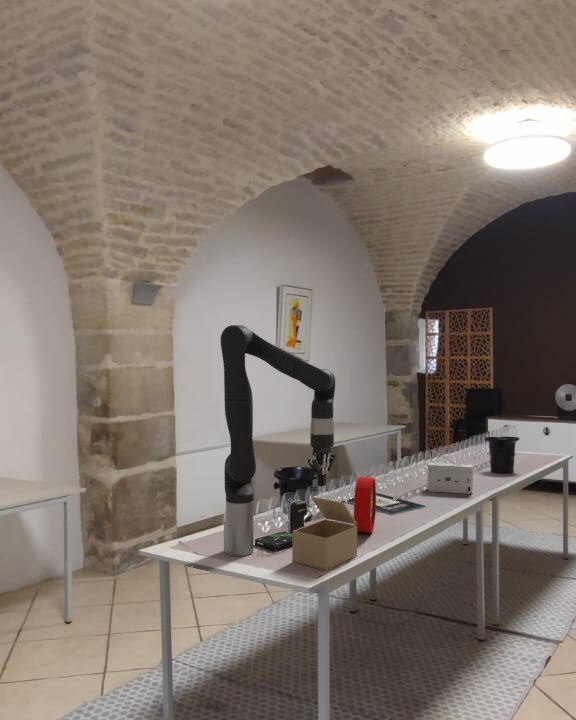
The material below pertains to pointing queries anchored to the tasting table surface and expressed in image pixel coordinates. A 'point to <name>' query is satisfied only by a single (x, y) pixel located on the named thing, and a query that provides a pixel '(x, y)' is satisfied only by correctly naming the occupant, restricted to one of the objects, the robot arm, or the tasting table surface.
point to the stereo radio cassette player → (450, 477)
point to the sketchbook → (392, 504)
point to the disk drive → (275, 541)
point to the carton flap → (334, 510)
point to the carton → (324, 544)
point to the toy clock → (365, 504)
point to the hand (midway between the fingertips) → (321, 485)
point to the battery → (296, 515)
